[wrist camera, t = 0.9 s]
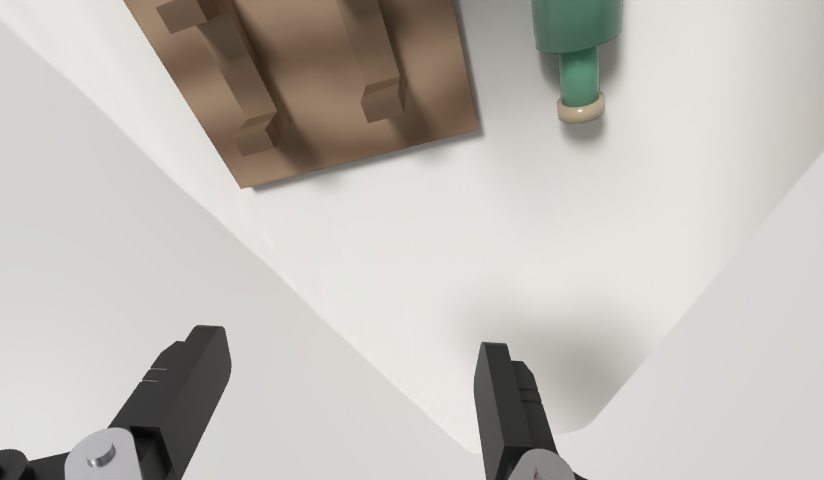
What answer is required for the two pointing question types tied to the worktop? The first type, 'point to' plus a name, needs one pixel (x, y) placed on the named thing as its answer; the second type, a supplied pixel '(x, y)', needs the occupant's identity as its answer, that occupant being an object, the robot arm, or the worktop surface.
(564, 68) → the green bottle
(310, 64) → the walnut bottle rack
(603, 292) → the worktop surface
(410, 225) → the worktop surface
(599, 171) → the worktop surface
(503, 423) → the robot arm
